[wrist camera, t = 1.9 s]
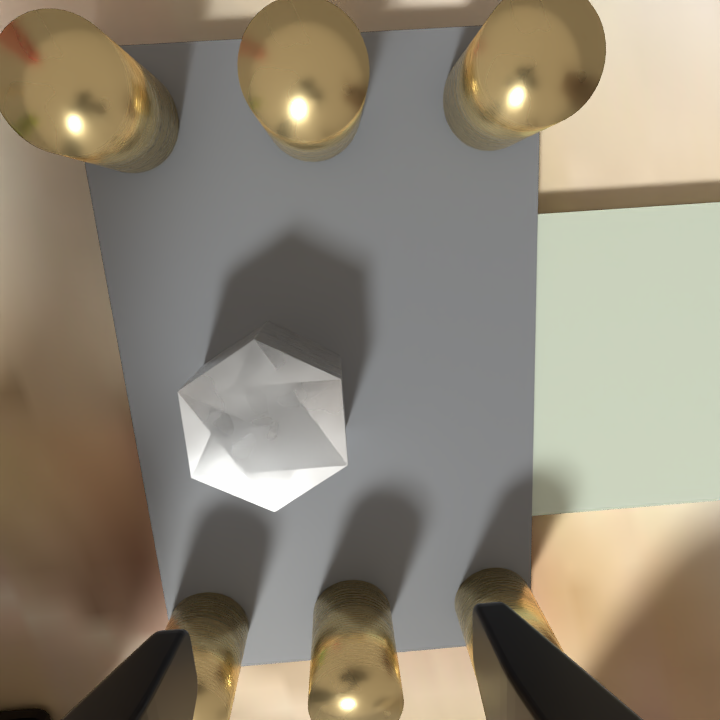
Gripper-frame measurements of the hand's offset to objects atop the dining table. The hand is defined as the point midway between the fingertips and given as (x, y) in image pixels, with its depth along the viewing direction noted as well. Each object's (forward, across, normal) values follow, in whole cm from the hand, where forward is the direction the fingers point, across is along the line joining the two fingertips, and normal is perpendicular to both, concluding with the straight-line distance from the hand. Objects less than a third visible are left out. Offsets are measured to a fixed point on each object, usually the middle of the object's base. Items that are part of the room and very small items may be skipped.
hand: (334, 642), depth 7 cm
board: (+12, 0, 0) cm, 12 cm away
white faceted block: (+11, +2, 0) cm, 11 cm away
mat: (+12, -11, 0) cm, 16 cm away
